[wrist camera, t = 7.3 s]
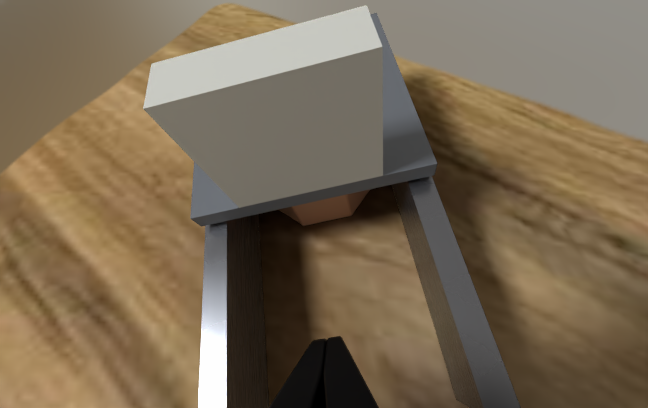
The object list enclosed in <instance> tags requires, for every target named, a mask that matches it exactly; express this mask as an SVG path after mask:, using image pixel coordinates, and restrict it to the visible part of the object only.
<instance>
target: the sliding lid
mask: <svg viewBox="0 0 648 408" xmlns="http://www.w3.org/2000/svg"><path fill="white" fill-rule="evenodd" d="M143 109H144V110H145V111H146V112H147V113H148V114H149V115H150V116H151V117H152V118H153V119H154V120H155V121H156V122H157V123H158V124H159V125H160V127H161V128H162V129H163V130H164V131H165V132H166V133H167V134H168V135H169V136H170V137H171V138H172V139H173V140H174V141H175V142H176V143H177V144H178V145H179V146H180V147H181V148H182V149H183V150H184V151H185V152H186V153H187V154H188V155H189V157H190V158H191V159H192V160H193V161H194V173H193V189H192V204H191V219H192V220H193V221H194V222H196V223H197V224H199V225H200V226H206V225H210V224H215V223H219V222H224V221H228V220H233V219H237V218H242V217H247V216H251V215H256V214H260V213H265V212H269V211H274V210H278V209H283V208H287V207H292V206H297V205H301V204H306V203H310V202H315V201H319V200H324V199H328V198H333V197H337V196H342V195H347V194H351V193H356V192H360V191H365V190H369V189H374V188H378V187H383V186H387V185H392V184H397V183H401V182H406V181H410V180H415V179H419V178H424V177H428V176H433V175H434V174H435V170H436V167H437V161H436V159H435V156H434V154H433V151H432V149H431V147H430V144H429V142H428V139H427V137H426V134H425V132H424V129H423V127H422V124H421V122H420V119H419V117H418V114H417V112H416V109H415V107H414V105H413V102H412V100H411V97H410V95H409V92H408V90H407V87H406V85H405V82H404V80H403V77H402V75H401V72H400V70H399V67H398V65H397V63H396V60H395V58H394V55H393V53H392V50H391V48H390V45H389V43H388V40H387V38H386V35H385V33H384V30H383V28H382V25H381V23H380V21H379V18H378V16H377V13H374V14H371V15H370V13H369V10H368V8H367V5H366V6H362V7H358V8H354V9H351V10H347V11H343V12H340V13H337V14H332V15H329V16H325V17H322V18H318V19H314V20H310V21H307V22H303V23H299V24H296V25H292V26H288V27H285V28H281V29H277V30H274V31H270V32H266V33H263V34H259V35H255V36H252V37H248V38H244V39H241V40H237V41H233V42H230V43H226V44H222V45H219V46H215V47H211V48H208V49H204V50H200V51H197V52H193V53H189V54H186V55H182V56H178V57H175V58H171V59H167V60H164V61H160V62H156V63H153V64H151V70H150V75H149V80H148V86H147V91H146V97H145V102H144V108H143Z"/></svg>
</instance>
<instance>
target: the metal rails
mask: <svg viewBox="0 0 648 408" xmlns="http://www.w3.org/2000/svg"><path fill="white" fill-rule="evenodd" d="M392 189H393V192H394V195H395V198H396V202H397V205H398V208H399V212H400V215H401V218H402V221H403V225H404V228H405V231H406V235H407V238H408V241H409V245H410V248H411V251H412V254H413V258H414V261H415V264H416V268H417V271H418V274H419V278H420V281H421V284H422V287H423V291H424V294H425V297H426V301H427V304H428V307H429V311H430V314H431V317H432V320H433V324H434V327H435V330H436V334H437V337H438V340H439V344H440V347H441V350H442V353H443V357H444V360H445V363H446V367H447V370H448V373H449V377H450V380H451V383H452V386H453V390H454V393H455V396H456V400H457V401H459V402H461V403H462V404H464V405H466V406H468V407H469V408H521V407H520V405H519V402H518V399H517V397H516V394H515V392H514V389H513V386H512V384H511V381H510V379H509V376H508V373H507V371H506V368H505V366H504V363H503V360H502V358H501V355H500V353H499V350H498V347H497V345H496V342H495V340H494V337H493V334H492V332H491V329H490V327H489V324H488V321H487V319H486V316H485V314H484V311H483V308H482V306H481V303H480V301H479V298H478V295H477V293H476V290H475V288H474V285H473V282H472V280H471V277H470V275H469V272H468V269H467V267H466V264H465V261H464V259H463V256H462V254H461V251H460V248H459V246H458V243H457V241H456V238H455V235H454V233H453V230H452V228H451V225H450V222H449V220H448V217H447V215H446V212H445V209H444V207H443V204H442V202H441V199H440V196H439V194H438V191H437V189H436V186H435V183H434V181H433V178H432V176H428V177H424V178H419V179H415V180H410V181H406V182H401V183H397V184H392ZM198 408H269V397H268V378H267V359H266V341H265V322H264V303H263V285H262V266H261V248H260V229H259V214H256V215H251V216H247V217H242V218H237V219H233V220H228V221H224V222H219V223H215V224H210V225H206V226H205V252H204V277H203V303H202V328H201V354H200V379H199V405H198Z"/></svg>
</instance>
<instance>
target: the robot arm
mask: <svg viewBox="0 0 648 408" xmlns="http://www.w3.org/2000/svg"><path fill="white" fill-rule="evenodd" d="M269 408H379V407H378V405H377V403H376V401H375V400H374V398H373V396H372V394H371V392H370V390H369V388H368V386H367V384H366V383H365V381H364V379H363V377H362V375H361V373H360V371H359V369H358V367H357V365H356V364H355V362H354V360H353V358H352V356H351V354H350V352H349V350H348V348H347V347H346V345H345V343H344V341H343V339H342V337H340V336H337V337H331V338H328V339H327V340H326V339H319V340H314V341H312V342H311V344H310V345H309V347H308V348H307V350H306V351H305V353H304V355H303V356H302V358H301V359H300V361H299V362H298V364H297V365H296V367H295V368H294V370H293V371H292V373H291V375H290V376H289V378H288V379H287V381H286V382H285V384H284V385H283V387H282V388H281V390H280V391H279V393H278V395H277V396H276V398H275V399H274V401H273V402H272V404H271V405H270V407H269Z"/></svg>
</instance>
